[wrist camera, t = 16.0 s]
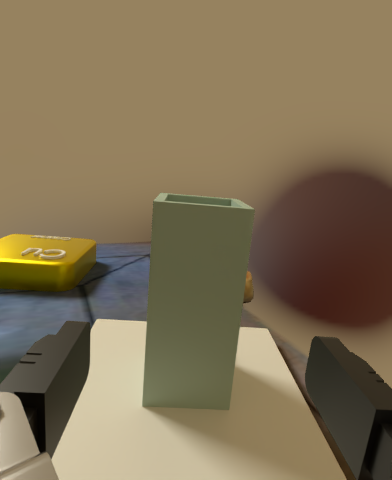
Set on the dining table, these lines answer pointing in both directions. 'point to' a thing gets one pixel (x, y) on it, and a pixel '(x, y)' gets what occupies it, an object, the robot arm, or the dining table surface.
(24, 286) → the element tile
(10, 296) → the dining table surface
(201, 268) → the hollow square tube
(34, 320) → the dining table surface
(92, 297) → the dining table surface
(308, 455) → the base plate
